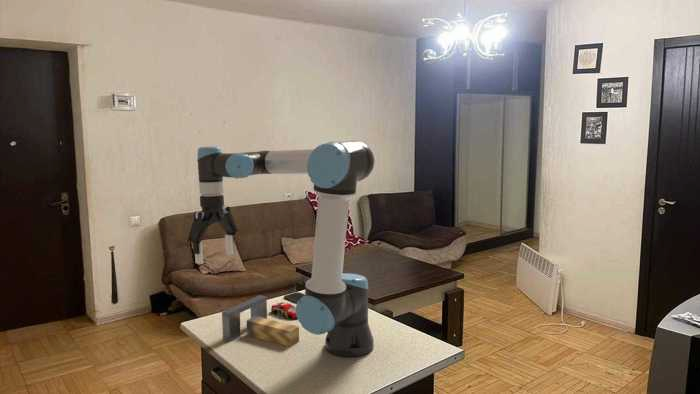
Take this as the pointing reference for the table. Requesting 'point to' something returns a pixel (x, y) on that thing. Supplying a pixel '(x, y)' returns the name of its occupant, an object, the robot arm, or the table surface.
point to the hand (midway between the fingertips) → (214, 258)
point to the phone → (294, 297)
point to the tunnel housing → (233, 316)
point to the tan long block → (273, 331)
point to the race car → (284, 310)
